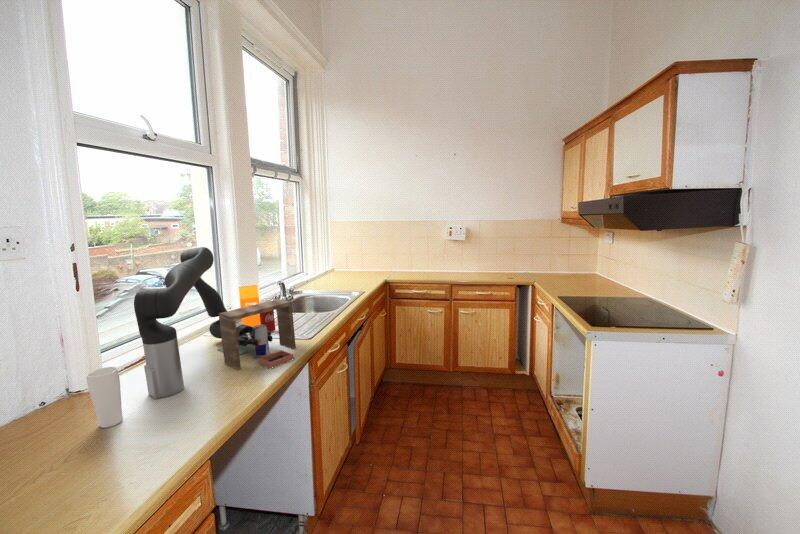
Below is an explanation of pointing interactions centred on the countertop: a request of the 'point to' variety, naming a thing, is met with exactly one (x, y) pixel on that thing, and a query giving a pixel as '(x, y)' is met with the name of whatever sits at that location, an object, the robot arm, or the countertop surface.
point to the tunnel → (229, 317)
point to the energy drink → (261, 340)
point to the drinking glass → (106, 395)
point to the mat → (242, 349)
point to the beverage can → (268, 320)
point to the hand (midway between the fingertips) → (264, 341)
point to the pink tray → (275, 359)
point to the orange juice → (249, 303)
